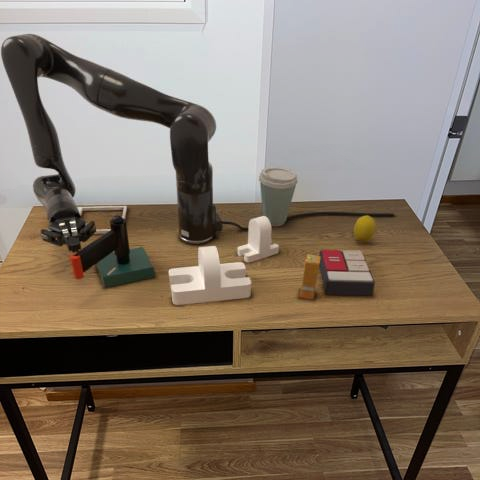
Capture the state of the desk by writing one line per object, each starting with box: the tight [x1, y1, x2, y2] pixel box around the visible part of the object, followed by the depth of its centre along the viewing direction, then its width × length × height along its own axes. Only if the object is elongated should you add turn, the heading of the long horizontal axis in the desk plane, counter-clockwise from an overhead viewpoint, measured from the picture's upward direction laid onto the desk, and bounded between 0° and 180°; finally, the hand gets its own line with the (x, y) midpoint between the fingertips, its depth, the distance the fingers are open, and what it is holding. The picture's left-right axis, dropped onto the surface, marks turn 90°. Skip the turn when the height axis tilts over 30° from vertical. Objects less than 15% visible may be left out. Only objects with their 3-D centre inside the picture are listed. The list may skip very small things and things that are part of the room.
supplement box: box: [299, 253, 321, 300], centre depth 113 cm, size 3×3×10 cm
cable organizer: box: [236, 215, 280, 264], centre depth 126 cm, size 5×10×10 cm, turn 122°
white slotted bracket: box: [168, 245, 252, 306], centre depth 113 cm, size 10×18×11 cm, turn 102°
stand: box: [95, 246, 155, 289], centre depth 120 cm, size 12×10×5 cm
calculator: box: [318, 249, 376, 296], centre depth 120 cm, size 11×4×15 cm
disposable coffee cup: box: [258, 166, 298, 227], centre depth 139 cm, size 11×11×15 cm
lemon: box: [353, 215, 377, 243], centre depth 133 cm, size 6×6×8 cm
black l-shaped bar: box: [69, 214, 131, 280], centre depth 110 cm, size 17×4×10 cm, turn 153°
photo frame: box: [77, 205, 128, 235], centre depth 140 cm, size 15×1×18 cm
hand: (75, 248), depth 110 cm, fingers closed
